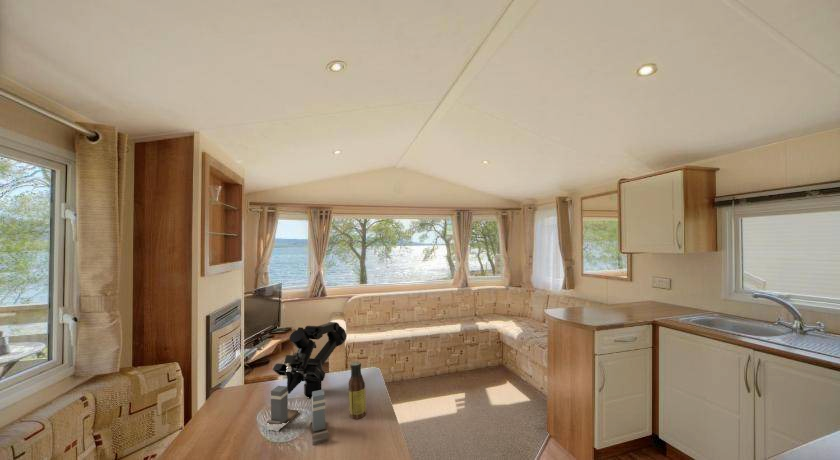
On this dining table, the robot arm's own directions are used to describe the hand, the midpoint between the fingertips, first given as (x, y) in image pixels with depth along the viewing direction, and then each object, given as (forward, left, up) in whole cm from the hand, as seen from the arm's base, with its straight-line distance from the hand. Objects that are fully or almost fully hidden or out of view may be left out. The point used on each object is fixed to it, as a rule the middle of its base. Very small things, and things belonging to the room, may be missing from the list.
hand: (287, 393), depth 117 cm
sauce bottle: (-23, +14, -9) cm, 28 cm away
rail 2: (-7, +17, -9) cm, 20 cm away
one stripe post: (+4, +4, -8) cm, 9 cm away
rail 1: (+2, +2, -9) cm, 9 cm away
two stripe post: (-8, +15, -8) cm, 19 cm away
